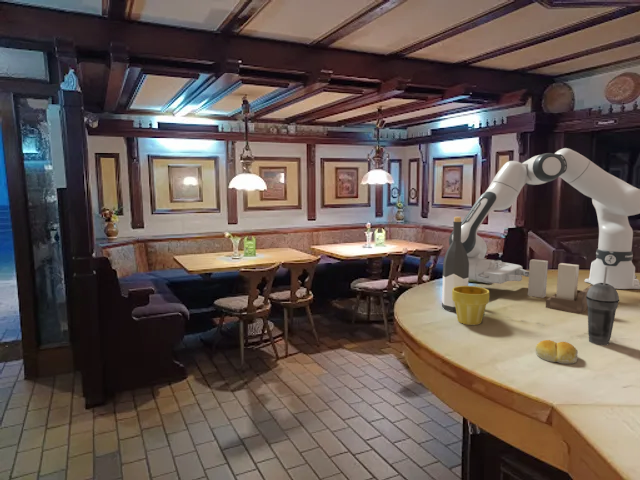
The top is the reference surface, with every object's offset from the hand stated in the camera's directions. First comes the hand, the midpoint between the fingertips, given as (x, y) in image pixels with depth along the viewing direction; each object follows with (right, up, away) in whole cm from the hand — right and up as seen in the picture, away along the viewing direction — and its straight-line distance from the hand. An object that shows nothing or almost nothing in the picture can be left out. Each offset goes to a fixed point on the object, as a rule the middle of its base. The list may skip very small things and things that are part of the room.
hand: (526, 276), depth 159 cm
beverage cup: (-1, -14, -42) cm, 45 cm away
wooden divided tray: (+8, -10, -14) cm, 18 cm away
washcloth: (-7, -4, +32) cm, 33 cm away
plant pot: (-29, -12, -25) cm, 40 cm away
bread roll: (-17, -15, -52) cm, 57 cm away
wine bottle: (-29, -10, -11) cm, 33 cm away
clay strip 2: (+4, -9, -17) cm, 20 cm away
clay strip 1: (+3, -8, -2) cm, 9 cm away
